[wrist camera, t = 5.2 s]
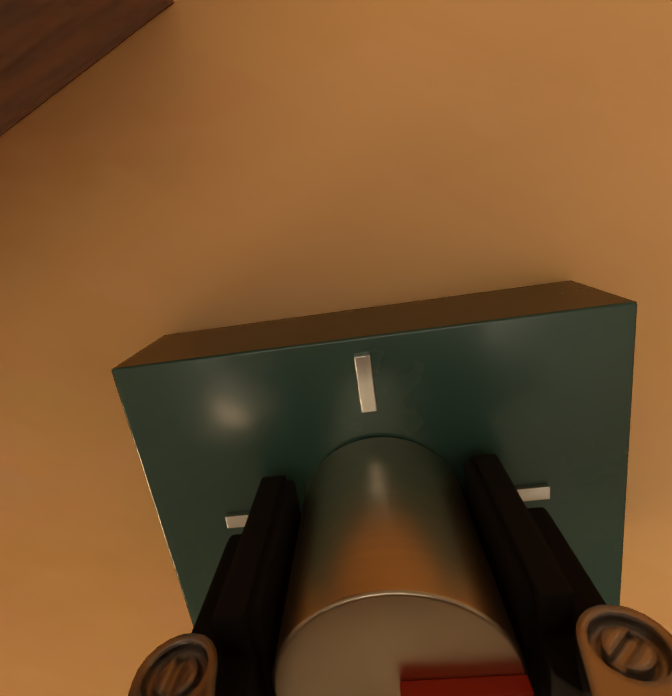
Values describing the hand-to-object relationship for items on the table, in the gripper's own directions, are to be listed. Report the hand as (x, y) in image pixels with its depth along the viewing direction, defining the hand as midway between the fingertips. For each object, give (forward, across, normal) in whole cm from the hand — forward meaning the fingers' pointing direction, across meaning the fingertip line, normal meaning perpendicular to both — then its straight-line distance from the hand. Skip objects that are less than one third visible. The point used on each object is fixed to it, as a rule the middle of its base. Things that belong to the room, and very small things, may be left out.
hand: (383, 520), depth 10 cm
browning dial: (+1, 0, 0) cm, 1 cm away
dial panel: (+4, 0, 0) cm, 4 cm away
